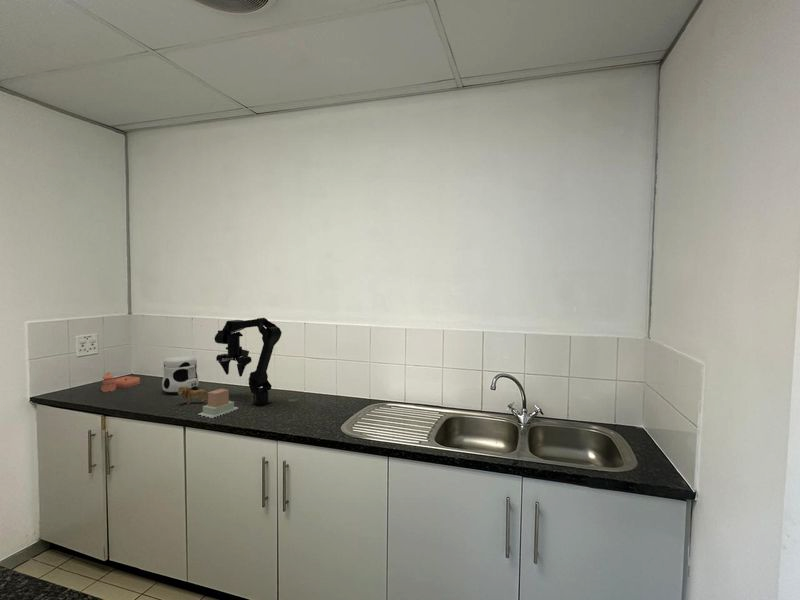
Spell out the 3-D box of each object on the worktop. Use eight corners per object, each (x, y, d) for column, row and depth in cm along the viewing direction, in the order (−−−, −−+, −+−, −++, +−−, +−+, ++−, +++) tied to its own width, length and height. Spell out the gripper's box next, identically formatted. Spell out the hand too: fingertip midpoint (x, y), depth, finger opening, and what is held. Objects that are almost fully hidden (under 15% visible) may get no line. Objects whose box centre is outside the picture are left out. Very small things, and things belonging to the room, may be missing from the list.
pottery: (126, 383, 228) (126, 366, 227) (139, 384, 225) (139, 367, 225) (95, 391, 210) (95, 373, 210) (109, 393, 208) (109, 374, 207)
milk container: (164, 388, 217) (163, 356, 216) (199, 385, 224) (198, 354, 223) (160, 397, 201) (159, 362, 200) (198, 393, 208) (197, 359, 207)
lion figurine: (177, 406, 187) (176, 388, 186) (179, 403, 192) (178, 385, 191) (211, 403, 192) (211, 385, 192) (212, 400, 197) (211, 382, 197)
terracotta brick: (228, 402, 181) (228, 389, 181) (215, 407, 175) (215, 393, 174) (221, 401, 183) (220, 388, 183) (208, 405, 177) (207, 392, 176)
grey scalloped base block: (238, 409, 183) (238, 401, 183) (212, 418, 171) (212, 410, 171) (224, 406, 187) (224, 398, 187) (198, 415, 175) (198, 407, 174)
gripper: (259, 344, 201) (259, 374, 202) (232, 341, 209) (233, 370, 210) (242, 347, 191) (242, 379, 192) (215, 344, 199) (215, 374, 200)
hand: (233, 375), depth 199 cm, fingers open, 9 cm apart
